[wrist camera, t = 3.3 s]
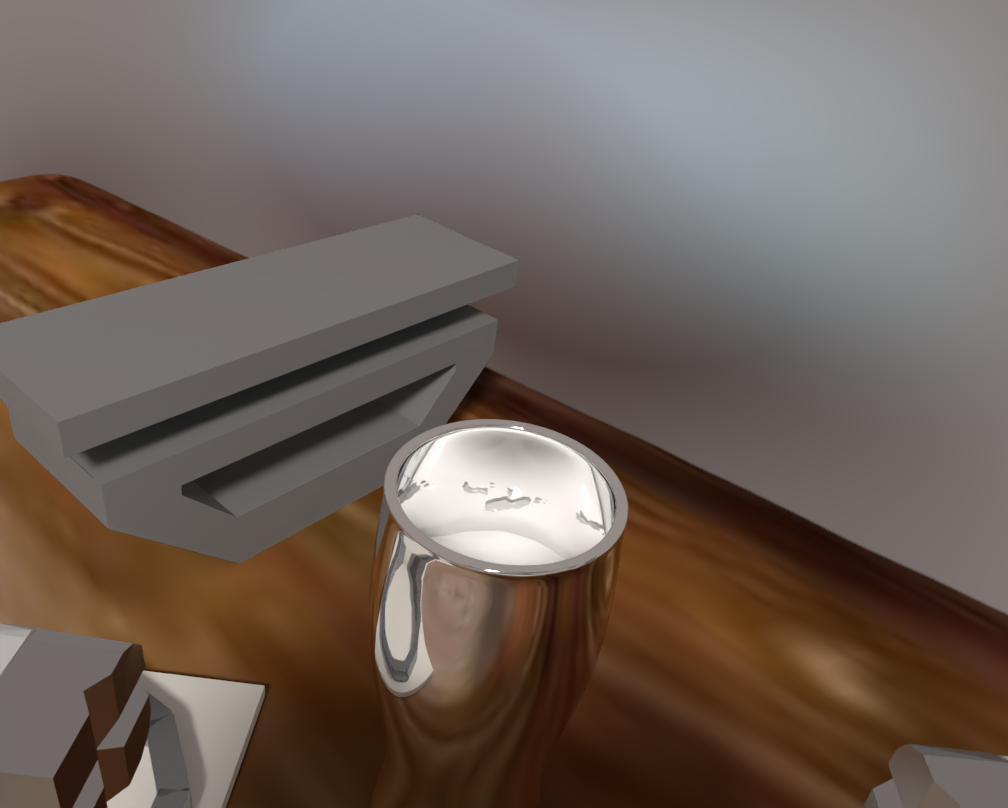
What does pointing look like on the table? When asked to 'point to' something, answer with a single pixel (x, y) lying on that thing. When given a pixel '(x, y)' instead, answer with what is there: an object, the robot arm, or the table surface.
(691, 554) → the table surface
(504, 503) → the steel tumbler
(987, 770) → the robot arm
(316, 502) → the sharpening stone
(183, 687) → the pale board
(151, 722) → the steel ring collar
